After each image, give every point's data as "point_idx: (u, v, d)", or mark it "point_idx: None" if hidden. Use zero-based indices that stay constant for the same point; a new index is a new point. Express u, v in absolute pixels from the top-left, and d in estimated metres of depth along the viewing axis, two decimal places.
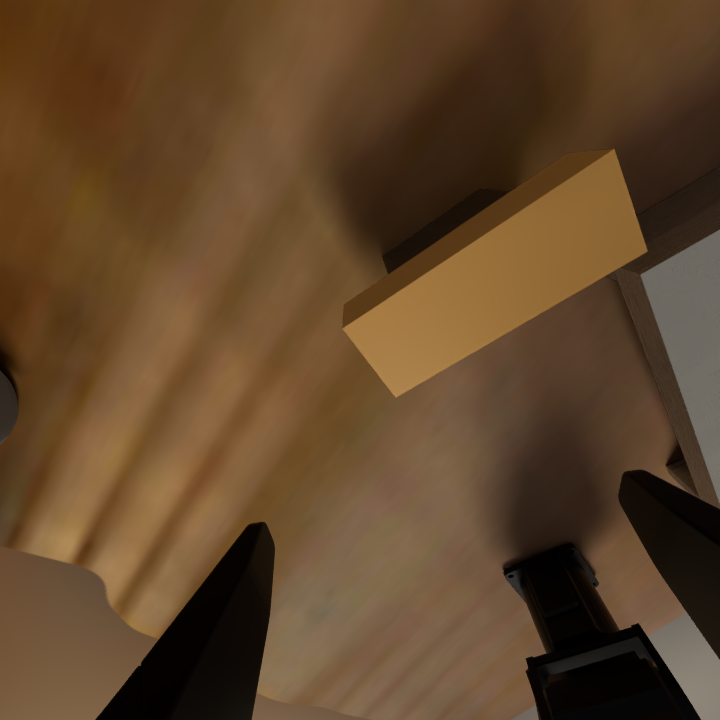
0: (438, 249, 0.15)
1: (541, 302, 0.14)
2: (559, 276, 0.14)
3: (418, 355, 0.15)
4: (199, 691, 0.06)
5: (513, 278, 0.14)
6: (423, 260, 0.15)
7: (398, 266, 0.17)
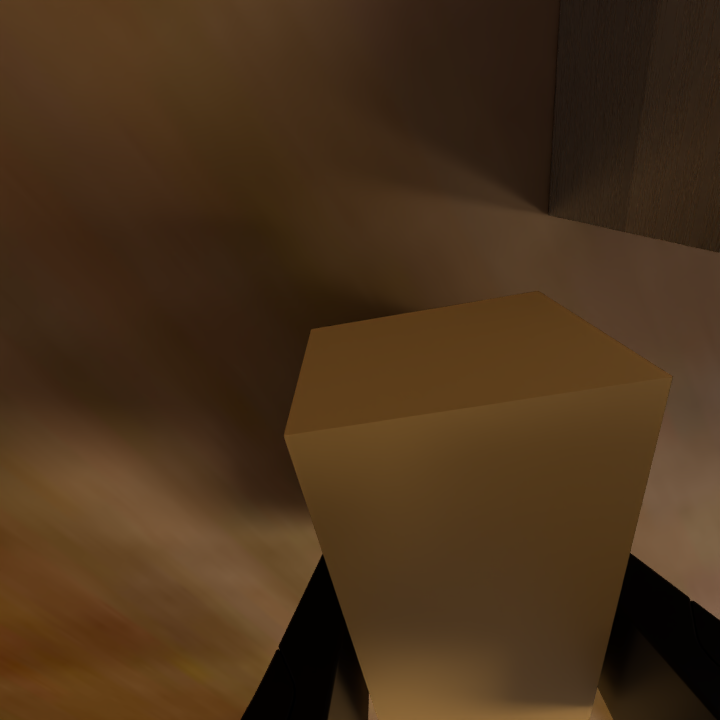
0: None
1: (588, 610, 0.06)
2: (553, 576, 0.05)
3: None
4: (343, 675, 0.06)
5: (487, 641, 0.06)
6: None
7: None
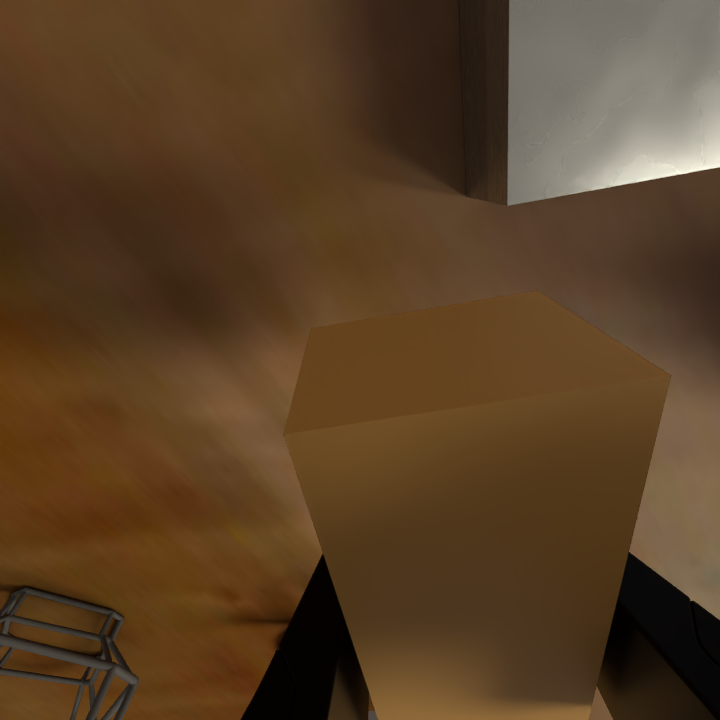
0: None
1: (587, 609, 0.06)
2: (552, 575, 0.05)
3: None
4: (343, 675, 0.06)
5: (486, 640, 0.06)
6: None
7: None
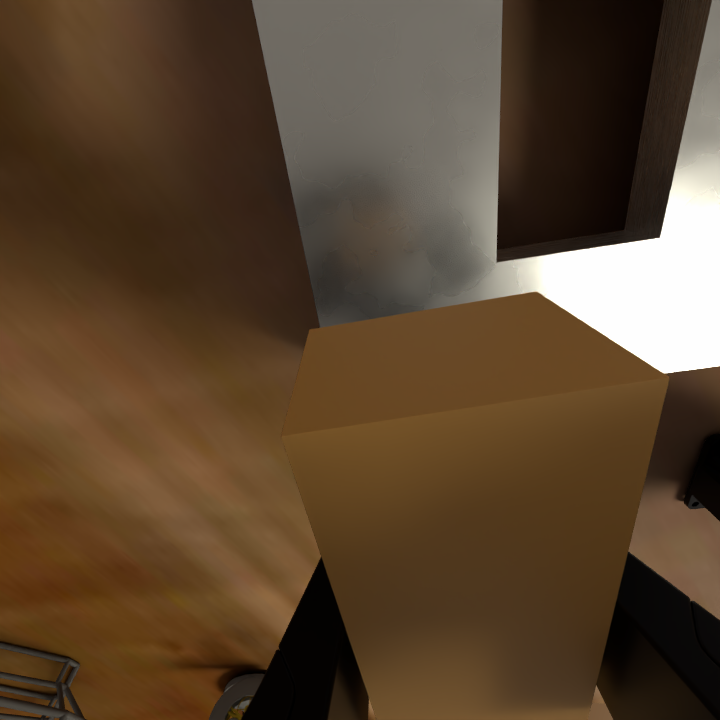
0: None
1: (586, 610, 0.06)
2: (550, 576, 0.05)
3: None
4: (343, 675, 0.06)
5: (485, 641, 0.06)
6: None
7: None
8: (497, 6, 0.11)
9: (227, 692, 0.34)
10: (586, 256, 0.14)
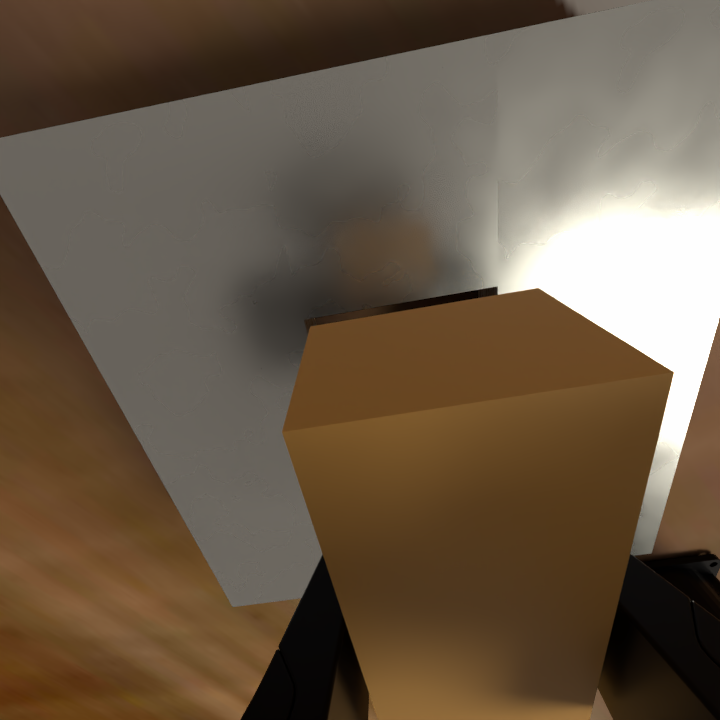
0: None
1: (588, 609, 0.06)
2: (553, 574, 0.05)
3: None
4: (343, 675, 0.06)
5: (487, 640, 0.06)
6: None
7: None
8: (304, 339, 0.12)
9: None
10: None
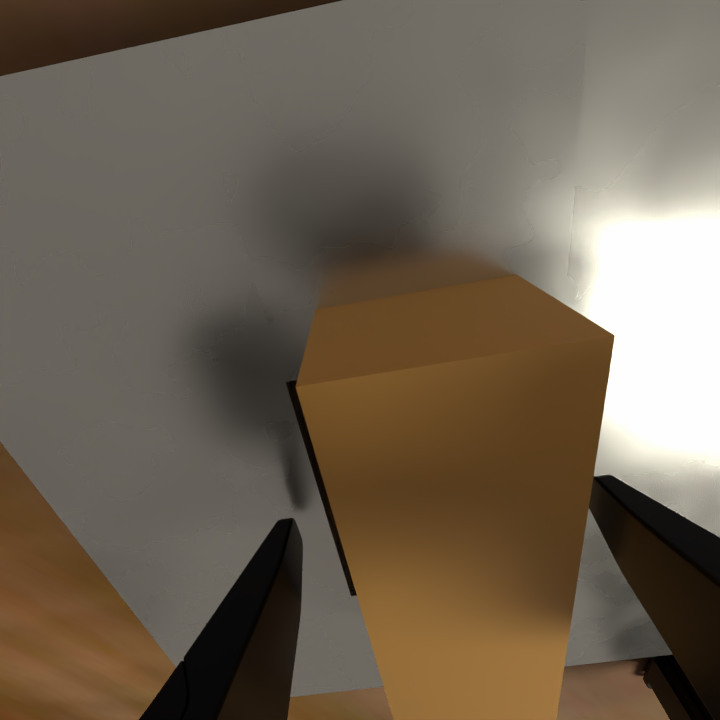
0: None
1: (558, 551, 0.06)
2: (525, 517, 0.06)
3: (508, 696, 0.09)
4: (243, 686, 0.06)
5: (470, 580, 0.07)
6: None
7: None
8: (286, 408, 0.08)
9: None
10: None
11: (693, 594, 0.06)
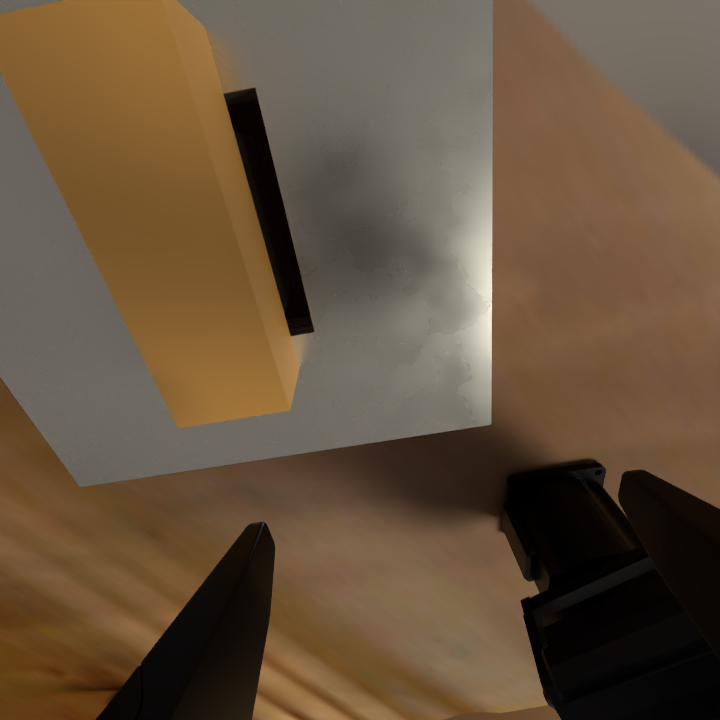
0: None
1: (206, 193, 0.10)
2: (169, 155, 0.09)
3: (238, 369, 0.12)
4: (199, 691, 0.06)
5: (158, 224, 0.10)
6: None
7: None
8: None
9: None
10: None
11: None
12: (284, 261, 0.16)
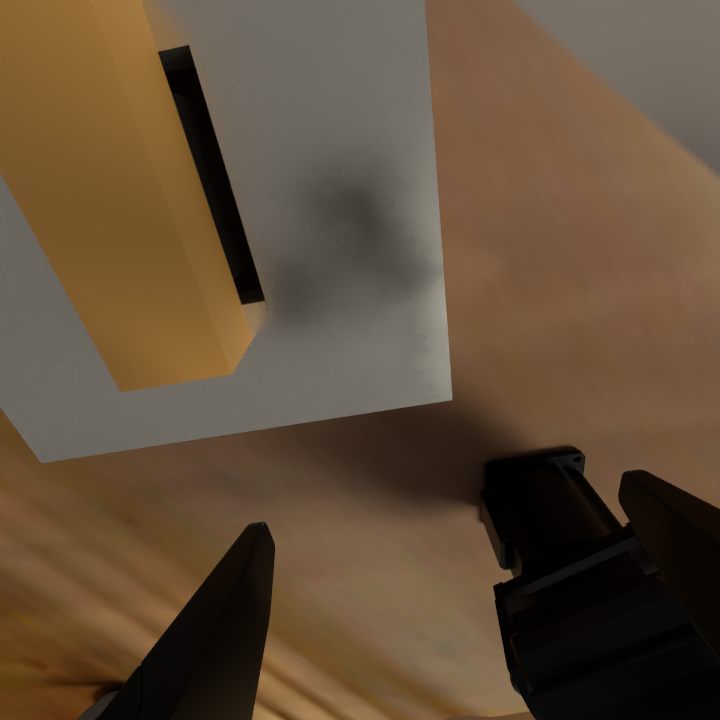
0: None
1: (128, 142, 0.10)
2: (88, 102, 0.09)
3: (176, 329, 0.12)
4: (199, 691, 0.06)
5: (82, 175, 0.10)
6: None
7: None
8: None
9: (89, 709, 0.35)
10: None
11: None
12: (240, 233, 0.16)
